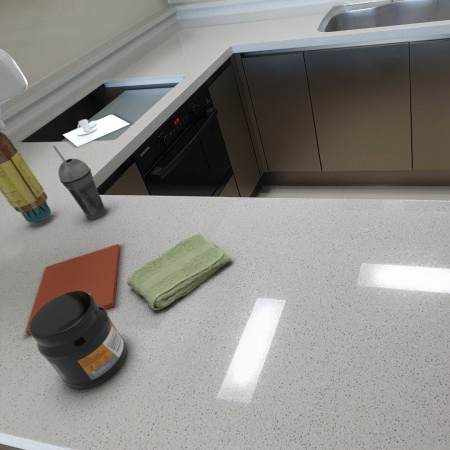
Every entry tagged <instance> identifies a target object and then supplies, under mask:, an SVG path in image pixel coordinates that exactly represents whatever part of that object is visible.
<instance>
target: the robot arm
mask: <svg viewBox="0 0 450 450" xmlns="http://www.w3.org/2000/svg"><path fill="white" fill-rule="evenodd" d="M28 86H29V83H28V80H27V78H26V77H25V75H24V74H23V72H22V70H21V68H20V67H19V66H18V64H17V63H16V61H15V60H14V59H13V58H12V56H11V55H10V54H9V53H8V52H7V51H5V50H4V49H2V48H0V102H2V101H5V100H8V99H11V98H15V97H16V98H17V97H19V96H23V95H24V94H25V93H26V91H27V89H28ZM1 116H2V104H0V131H1V130H2V131H3V130H4V129H5V128H6V124H5V122H4V121H3V119H2V117H1Z"/></svg>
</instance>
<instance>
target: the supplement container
mask: <svg viewBox="0 0 450 450" xmlns="http://www.w3.org/2000/svg"><path fill="white" fill-rule="evenodd" d="M29 332H30V335H31V337H32V339H33V340H35V342H36V346H37V347H36V348H37V351H38V352H39V353H40V355H41V356H42V357H44V358H45V359H46V360H47V362H48V363H49V364H50V365H51V367H52V368H53V369H54V371H55V372H56V373H57V374H58V375H59V377H60V378H61V380H62V381H63V382H64V384H66V385H68V386H69V387H71V388H74V389H86V388H91V387H93V386H96V385H99V384H101V383H103V382H104V381H106V380H107V379H108V378H110V377H111V376H112V375H114V373H116V371H117V370H118V369H119V368H120V367H121V365H122V364H123V361H124V360H125V357H126V355H127V344H126V341H125V339H124V338H123V336H122V335H121V333H120V332H119V330H118V329H117V327H116V326H115V324H114V323H113V321H112V319H111V317H110V316H109V314H108V311H107V309H105V308H104V307H102V306H101V305H99V304H97V302H96V301H95V299H94V298H93V296H92V295H91V294H90V293H88V292H85V291H72V292H68V293H65V294H62V295H60V296H58V297H56V298H54V299H52V300H51V301H49V302H48V303H46V304H45V305H44V306H42V307H41V308H40V309H39V310H38V311H37V312H36V314H35V315H34V316H33V318H32V320H31V322H30V325H29Z"/></svg>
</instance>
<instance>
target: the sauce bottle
mask: <svg viewBox="0 0 450 450" xmlns="http://www.w3.org/2000/svg"><path fill="white" fill-rule="evenodd" d="M0 192H1V194H2V196H4V198H5V199H6V201H7V202H8V204H9V205H10V206H11V207H12V208H13V209H14V210H15V211H16V212H18V213H20V212H29V211H32V210H33V209H35V208H37V207H40V206H41V205H42V204H44V203H45V201H46V202H47V200H48V195H47V193H46V192H45V190H44V187H43V186H42V184H41V183H40V181H39V180H38V179H37V177H36V175H35V174H34V173H33V171H32V169H31V168H30V167H29V165H28V163H27V162H26V161H25V159H24V158H23V156H22V154H21V153H20V151H19V149H17V148H16V146H14V143H13V142H12V141H11V139H10V138H9V137H8V135H6V134H5V133H3V132H2V131H0Z"/></svg>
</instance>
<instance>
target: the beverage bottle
mask: <svg viewBox="0 0 450 450" xmlns="http://www.w3.org/2000/svg"><path fill="white" fill-rule="evenodd" d="M19 213H20V214H21V215H22V217H23V219H24V220H25V221H26V222H28V223H29V224H34V223H38V222H41V221H43V220H45V219H46V218H47V217H49V216H50V215H51V213H52V210H51V207H50V206H49V204H48V202H47V200H46V201H45V203H44V204H42V205H41V206H40V207H37V208H35V209H33V210H32V211H29V212H19Z"/></svg>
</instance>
